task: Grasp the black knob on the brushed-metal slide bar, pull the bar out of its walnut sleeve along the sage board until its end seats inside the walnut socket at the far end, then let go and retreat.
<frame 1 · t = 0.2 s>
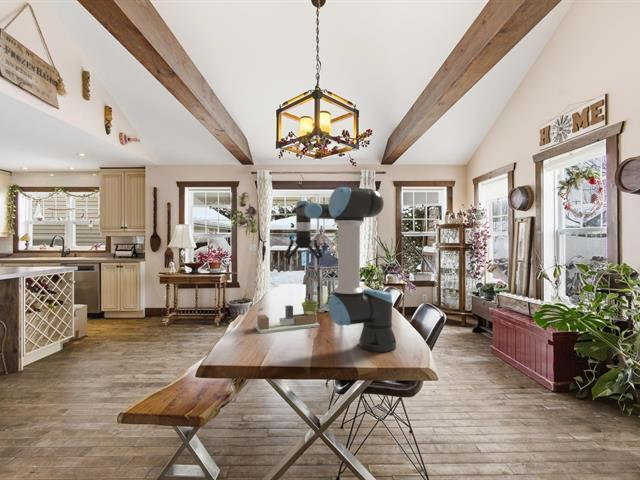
hand: (303, 270, 180), 27 cm above the table, fingers open, 13 cm apart
board: (287, 327, 170), on the table
slide bar: (296, 314, 172), point 6 cm above the table, slide at 0.0 cm
plant pot: (309, 319, 188), on the table
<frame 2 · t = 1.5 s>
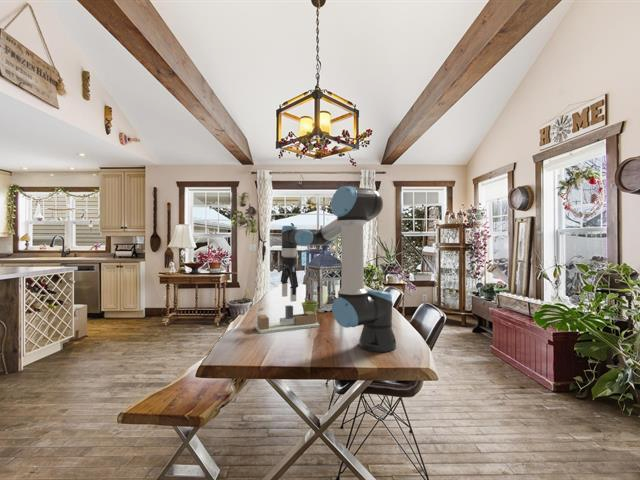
hand: (288, 298, 171), 14 cm above the table, fingers open, 13 cm apart
nothing on the table moved.
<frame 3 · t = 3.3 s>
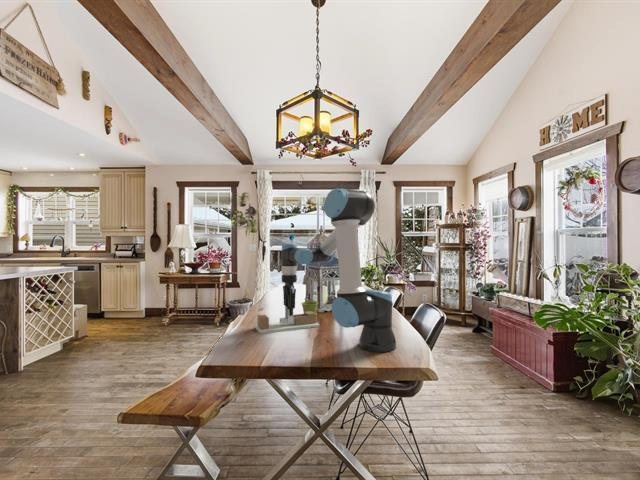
hand: (289, 320, 171), 3 cm above the table, fingers closed on slide bar, 3 cm apart
slide bar: (296, 314, 172), point 6 cm above the table, slide at 0.0 cm, touching gripper
everything else where it was.
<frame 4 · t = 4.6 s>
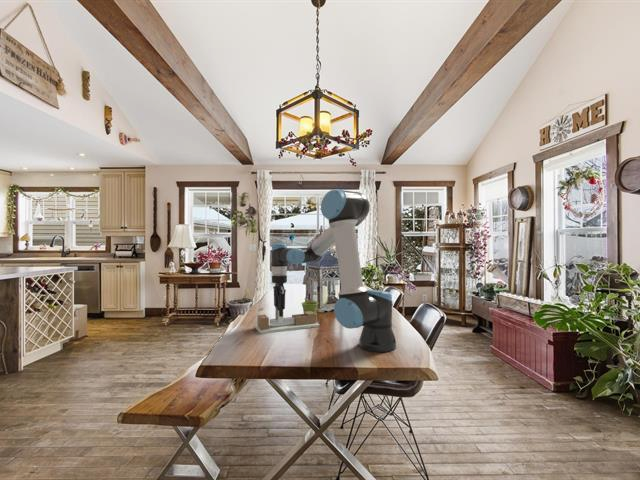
hand: (279, 321, 169), 3 cm above the table, fingers closed on slide bar, 3 cm apart
slide bar: (287, 315, 170), point 6 cm above the table, slide at 5.1 cm, touching gripper
everything else where it was.
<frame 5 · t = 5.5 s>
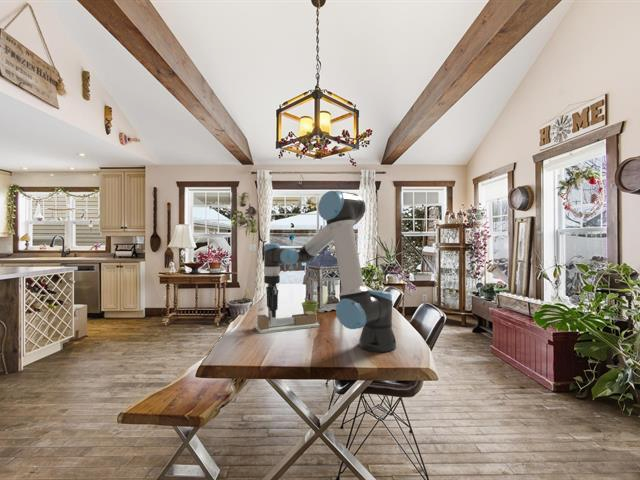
hand: (272, 322, 167), 3 cm above the table, fingers closed on slide bar, 3 cm apart
slide bar: (279, 315, 169), point 6 cm above the table, slide at 8.9 cm, touching gripper
everything else where it was.
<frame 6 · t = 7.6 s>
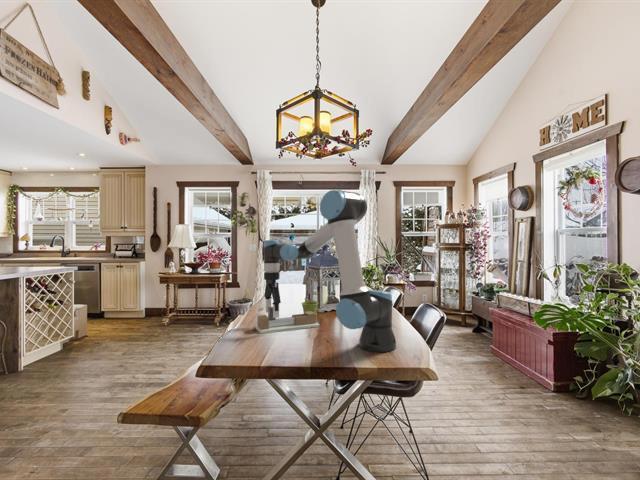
hand: (272, 314, 167), 7 cm above the table, fingers open, 13 cm apart
slide bar: (279, 315, 169), point 6 cm above the table, slide at 9.0 cm
everything else where it was.
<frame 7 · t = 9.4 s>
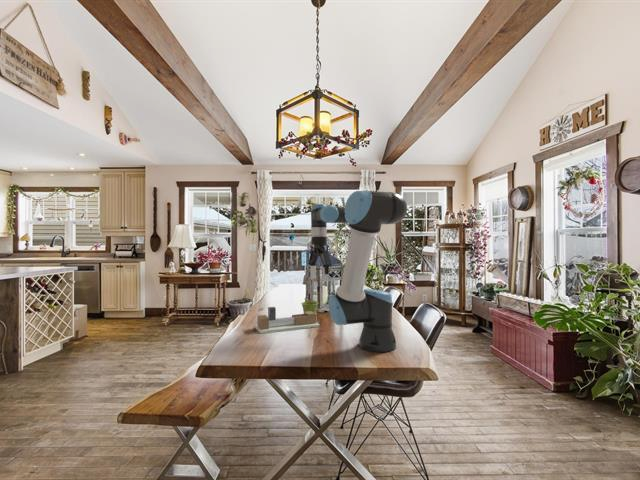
hand: (319, 280, 166), 24 cm above the table, fingers open, 13 cm apart
nothing on the table moved.
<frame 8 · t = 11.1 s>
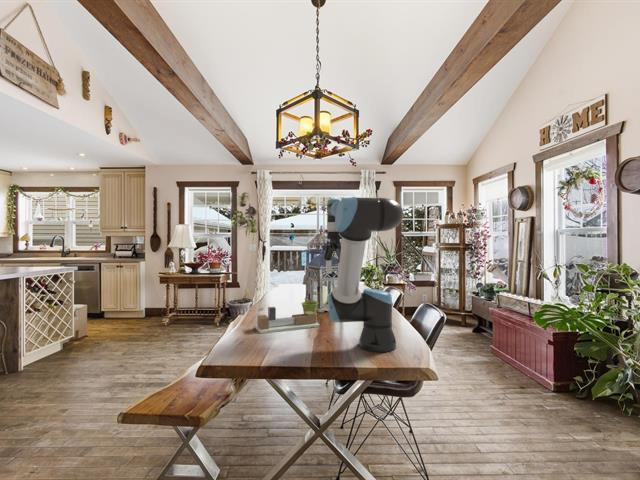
hand: (334, 274, 166), 27 cm above the table, fingers open, 13 cm apart
nothing on the table moved.
at the end: slide bar slide at 9.0 cm; the gripper is holding nothing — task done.
